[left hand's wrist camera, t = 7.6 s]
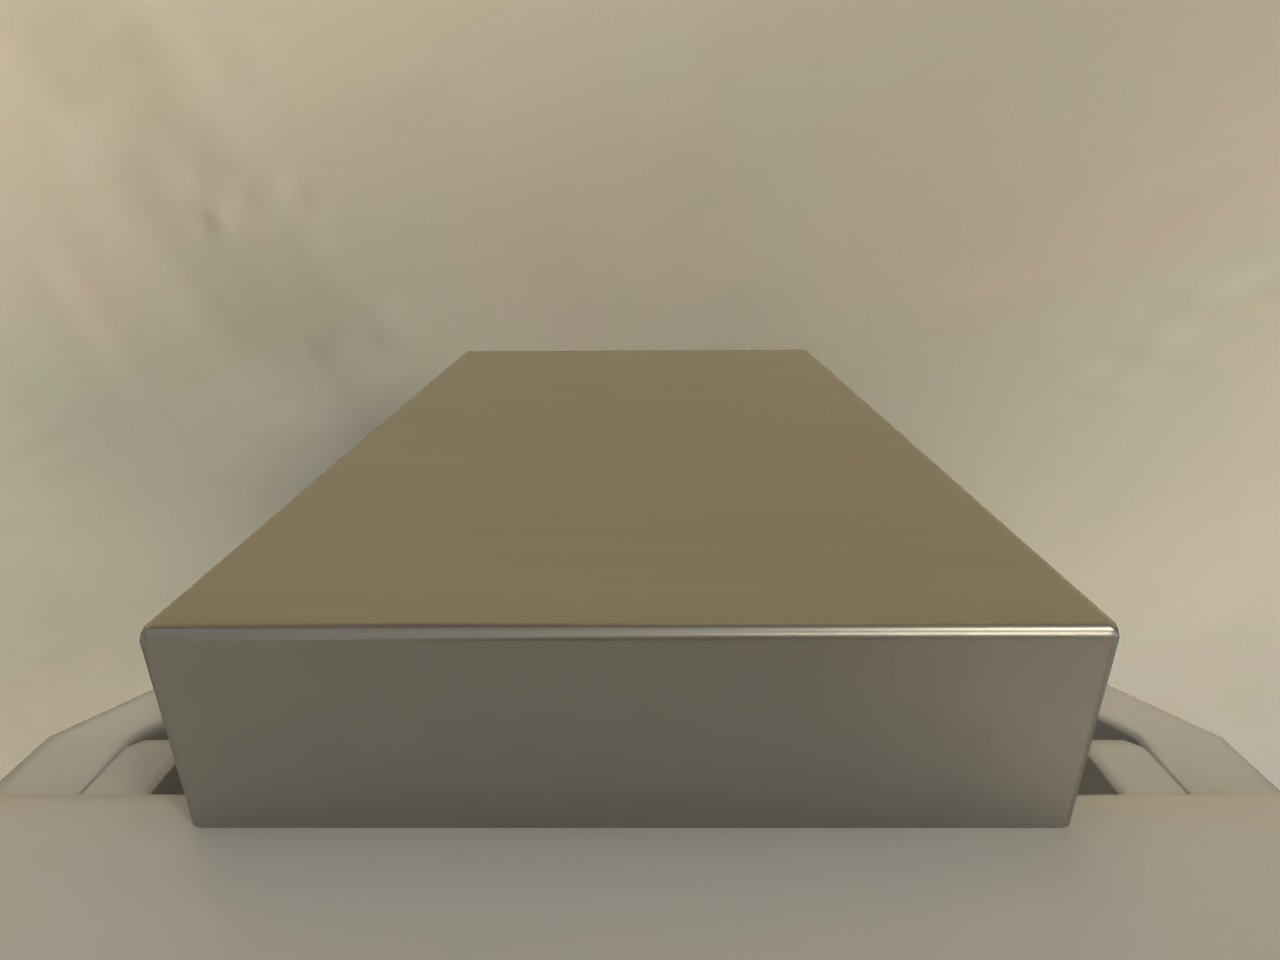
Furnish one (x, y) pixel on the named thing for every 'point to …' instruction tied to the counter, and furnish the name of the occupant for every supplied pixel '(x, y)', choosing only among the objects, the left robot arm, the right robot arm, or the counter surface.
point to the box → (632, 619)
